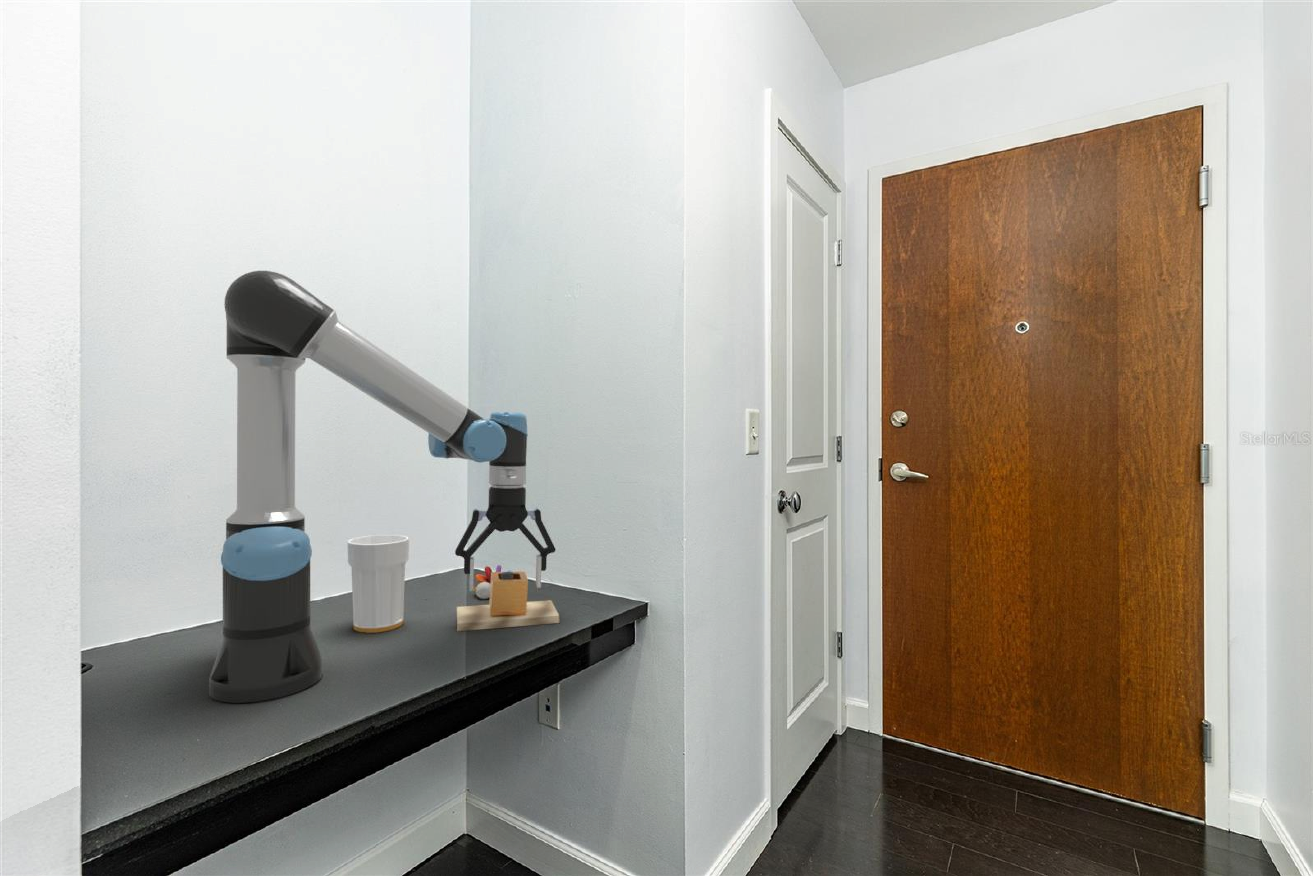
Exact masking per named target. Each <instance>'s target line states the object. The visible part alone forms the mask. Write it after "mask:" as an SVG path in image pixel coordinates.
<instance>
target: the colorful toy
mask: <svg viewBox="0 0 1313 876" xmlns="http://www.w3.org/2000/svg"><path fill="white" fill-rule="evenodd" d="M491 572H493V570H492V568H491V567H490V566H488V565H486V566H485V567H484V573H485V574H481V573H479V574H478V573H477V574H476V575H474V576H475V577H474V580H476V582H478V584H477V585H474V589H473V592H475V594H476V596H477V597H478V598H479V599H481V600H488V599H490V584H491ZM495 572H502V565H499V564H498V565H497V566H496V569H495ZM507 572H513V571H512V570H508V571H507Z"/></svg>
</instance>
